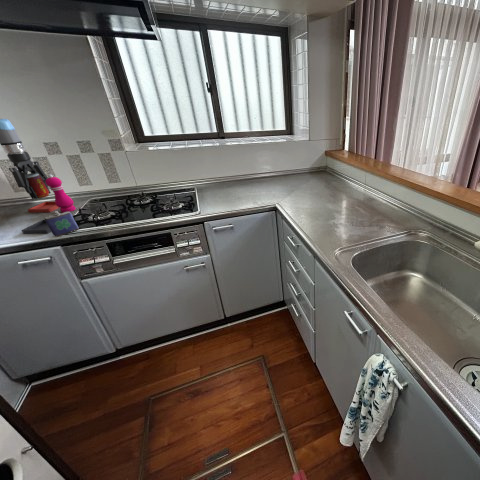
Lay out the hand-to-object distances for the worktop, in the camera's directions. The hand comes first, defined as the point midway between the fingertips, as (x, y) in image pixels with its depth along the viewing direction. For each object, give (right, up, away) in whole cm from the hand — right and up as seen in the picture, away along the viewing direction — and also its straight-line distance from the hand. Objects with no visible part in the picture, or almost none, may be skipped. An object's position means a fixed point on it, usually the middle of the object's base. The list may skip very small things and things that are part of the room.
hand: (41, 195), depth 145 cm
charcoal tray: (+20, -18, -17) cm, 32 cm away
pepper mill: (+14, -8, +1) cm, 16 cm away
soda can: (0, -1, 0) cm, 1 cm away
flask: (+34, -21, -21) cm, 46 cm away
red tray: (0, -6, +4) cm, 7 cm away
